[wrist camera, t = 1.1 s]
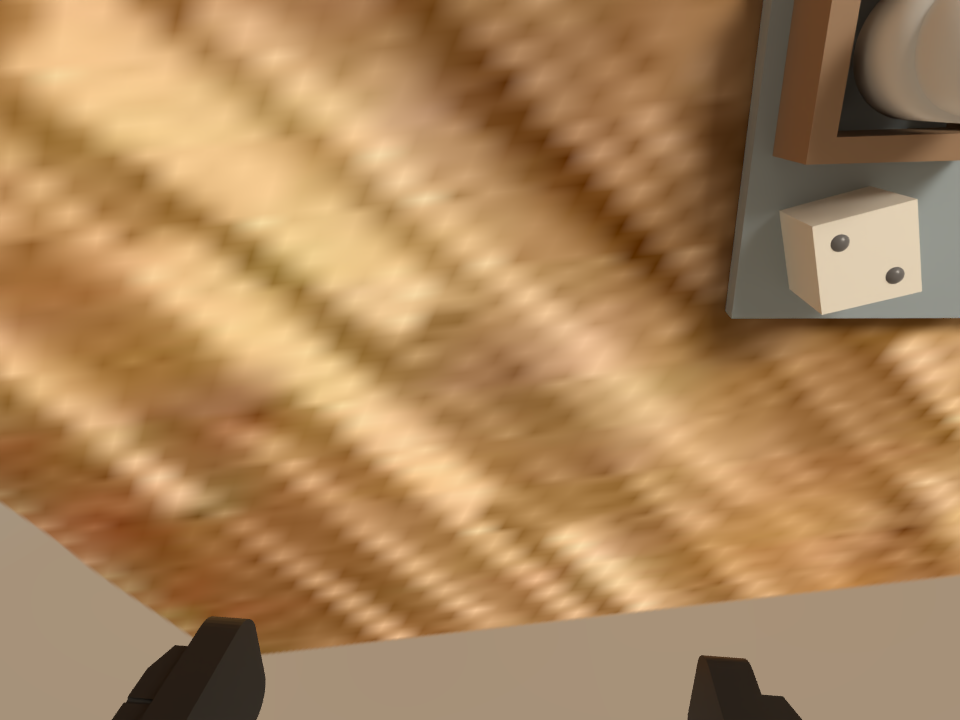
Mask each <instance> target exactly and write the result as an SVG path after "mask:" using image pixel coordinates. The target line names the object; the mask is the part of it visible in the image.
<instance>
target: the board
mask: <svg viewBox="0 0 960 720" xmlns="http://www.w3.org/2000/svg"><path fill="white" fill-rule="evenodd" d="M879 1H880V0H763V7H762V15H761V23H760V31H759V40H758V48H757V56H756V64H755V72H754V80H753V89H752V97H751V105H750V113H749V121H748V129H747V137H746V146H745V154H744V162H743V170H742V178H741V186H740V195H739V203H738V211H737V219H736V227H735V235H734V243H733V252H732V260H731V268H730V276H729V284H728V292H727V301H726V309H725V312H726V313H727V314H728V315H729V316H730V318H731V319H776V318H960V123H945V122H929V121H914V120H900V119H894V118H891V117H888V116H885V115H883V114H881V113H879V112H877V111H876V110H874V109H873V108H872V107H871V106H870V105H869V104H868V103H867V102H866V101H865V100H864V98H863V97H862V96H861V94H860V92H859V90H858V88H857V85H856V82H855V78H854V71H853V57H854V49H855V45H856V41H857V38H858V35H859V33H860V30H861V28H862V26H863V24H864V22H865V20H866V19H867V17H868V15H869V14H870V12H871V11H872V10H873V8H874V7H875V6H876V4H877V3H878V2H879ZM868 186H872V187H876V188H879V189H883V190H886V191H890V192H894V193H897V194H901V195H905V196H908V197H912V198H916V199H918V218H919V238H920V259H921V280H922V292H918V293H913V294H909V295H905V296H901V297H896V298H892V299H888V300H884V301H879V302H875V303H871V304H866V305H862V306H858V307H854V308H849V309H845V310H841V311H837V312H832V313H828V314H824V315H821V314H820V313H819V312H818V311H816V310H815V309H814V308H813V307H811V306H810V305H809V304H808V303H806V302H805V301H804V300H802V299H801V298H800V297H799V296H797V295H796V294H795V293H794V292H792V291H791V290H790V289H789V284H788V276H787V269H786V261H785V253H784V245H783V237H782V230H781V222H780V214H779V210H783V209H787V208H790V207H794V206H798V205H801V204H805V203H809V202H812V201H816V200H820V199H824V198H827V197H831V196H835V195H838V194H842V193H846V192H849V191H853V190H857V189H861V188H864V187H868Z"/></svg>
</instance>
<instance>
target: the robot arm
mask: <svg viewBox="0 0 960 720" xmlns="http://www.w3.org/2000/svg"><path fill="white" fill-rule="evenodd" d="M264 693H265V674H264V668H263V663H262V658H261V653H260V648H259V643H258V637H257V632H256V627H255V624H254V622H253V621H252V620H251V619H240V618H227V617H214V616H213V617H209V618H208V619H206V620H205V621H204V622H203V624H202V625H201V627H200V628H199V630H198V631H197V633H196V634H195V636H194V637H193V639H192V641H191V642H190V644H189V645H188V646H177V645H175V646H174V647H172V648H171V649H170V650H169V651H168V652H167V653H165V654H164V655H163V656H162V657H161V658H159V659H158V660H157V661H156V662H155V663H153V664H152V665H151V666H150V667H149V668H148V669H147V670H146V671H145V673H144V674H143V676H142V677H141V679H140V680H139V682H138V683H137V684H136V686H135V687H134V689H133V690H132V691H131V693H130V694H129V696H128V700H127V702H126V703H123V705H122V706H121V707H120V709H119V710H118V712H117V713H116V715H115V716H114V718H113V719H112V720H256V719H257V717H258V715H259V712H260V709H261V706H262V703H263V698H264ZM688 720H802V719H801V718H800V716H798V714H797V713H796V712H795V711H794V709H793V708H792V707H791V706H790V704H789V703H788V702H787V701H786V700H785V698H784V697H782V696H771V695H761V692H760V689H759V687H758V684H757V681H756V678H755V675H754V673H753V670H752V667H751V665H750V664H749V662H748V661H747V660H746V659H743V658H730V657H716V656H704V655H701V656H700V657H699V660H698V664H697V669H696V674H695V679H694V685H693V690H692V695H691V701H690V706H689V712H688Z"/></svg>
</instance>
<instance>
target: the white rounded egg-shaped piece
mask: <svg viewBox="0 0 960 720" xmlns="http://www.w3.org/2000/svg"><path fill="white" fill-rule="evenodd" d="M853 71H854V78H855V82H856V85H857V88H858V90H859V92H860V94H861V96H862V97H863V98H864V100H865V101H866V102H867V103H868V104H869V105H870V106H871V107H872V108H873V109H874V110H876V111H877V112H879V113H881V114H883V115H885V116H888V117H891V118H894V119H900V120H914V121H929V122H945V123H960V0H880V1H879V2H878V3H877V4H876V6H875V7H874V8H873V10H872V11H871V12H870V14H869V15H868V17H867V19H866V20H865V22H864V24H863V26H862V28H861V30H860V33H859V35H858V38H857V41H856V45H855V49H854V57H853Z"/></svg>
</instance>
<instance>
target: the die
mask: <svg viewBox="0 0 960 720" xmlns="http://www.w3.org/2000/svg"><path fill="white" fill-rule="evenodd" d="M779 214H780V222H781V230H782V237H783V245H784V253H785V261H786V269H787V276H788V284H789V289H790V290H791V291H792V292H794V293H795V294H796V295H797V296H799V297H800V298H801V299H802V300H804V301H805V302H806V303H808V304H809V305H810V306H811V307H813V308H814V309H815V310H816V311H818V312H819V313H820V314H821V315H824V314H828V313H832V312H837V311H841V310H845V309H849V308H854V307H858V306H862V305H866V304H871V303H875V302H879V301H884V300H888V299H892V298H896V297H901V296H905V295H909V294H913V293H918V292H922V280H921V259H920V238H919V218H918V199H916V198H912V197H908V196H905V195H901V194H897V193H894V192H890V191H886V190H883V189H879V188H876V187H872V186H868V187H864V188H861V189H857V190H853V191H849V192H846V193H842V194H838V195H835V196H831V197H827V198H824V199H820V200H816V201H812V202H809V203H805V204H801V205H798V206H794V207H790V208H787V209H783V210H779Z"/></svg>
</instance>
